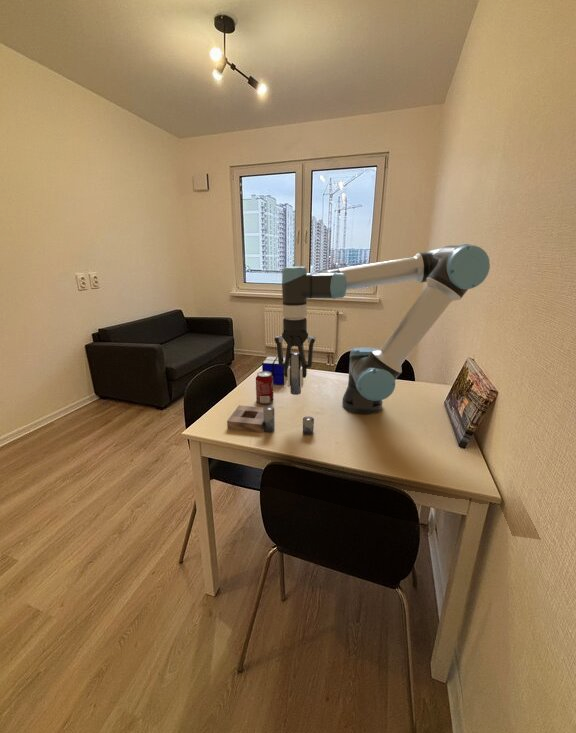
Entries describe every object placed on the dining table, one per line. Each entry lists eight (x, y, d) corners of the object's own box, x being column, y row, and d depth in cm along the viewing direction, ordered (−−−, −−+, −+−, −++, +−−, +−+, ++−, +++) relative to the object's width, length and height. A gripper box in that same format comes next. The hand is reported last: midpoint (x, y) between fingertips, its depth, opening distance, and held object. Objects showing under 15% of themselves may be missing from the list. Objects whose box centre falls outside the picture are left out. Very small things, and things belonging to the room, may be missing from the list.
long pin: (301, 390, 112) (301, 352, 108) (300, 395, 109) (299, 355, 104) (291, 390, 113) (290, 351, 108) (289, 394, 109) (288, 355, 105)
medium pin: (275, 427, 110) (275, 406, 107) (273, 433, 106) (272, 411, 104) (265, 426, 110) (264, 405, 108) (262, 432, 107) (262, 410, 104)
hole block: (270, 415, 118) (270, 408, 117) (261, 432, 107) (261, 424, 106) (239, 412, 120) (238, 405, 119) (227, 428, 109) (227, 421, 108)
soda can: (271, 406, 125) (270, 377, 121) (254, 404, 126) (253, 376, 123) (275, 398, 131) (274, 371, 127) (259, 397, 133) (258, 370, 129)
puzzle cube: (262, 383, 147) (261, 363, 143) (267, 376, 156) (267, 356, 153) (284, 385, 145) (284, 364, 142) (287, 377, 154) (287, 357, 151)
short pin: (314, 430, 108) (314, 417, 107) (312, 435, 105) (313, 422, 103) (303, 429, 109) (303, 416, 107) (301, 434, 106) (302, 421, 104)
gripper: (322, 315, 104) (321, 382, 112) (272, 315, 107) (274, 380, 115) (319, 320, 97) (318, 391, 105) (266, 319, 100) (269, 388, 108)
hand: (295, 385), depth 110 cm, fingers closed on long pin, 3 cm apart
